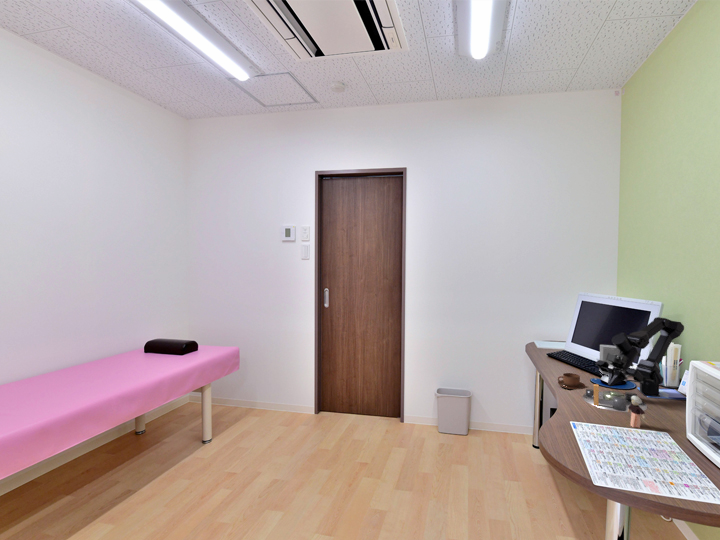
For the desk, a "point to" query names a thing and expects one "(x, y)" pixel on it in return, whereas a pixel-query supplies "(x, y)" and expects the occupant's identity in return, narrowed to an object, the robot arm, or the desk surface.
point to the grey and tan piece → (617, 402)
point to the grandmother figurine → (636, 411)
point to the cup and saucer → (570, 381)
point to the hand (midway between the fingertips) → (609, 385)
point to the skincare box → (604, 352)
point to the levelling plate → (591, 401)
